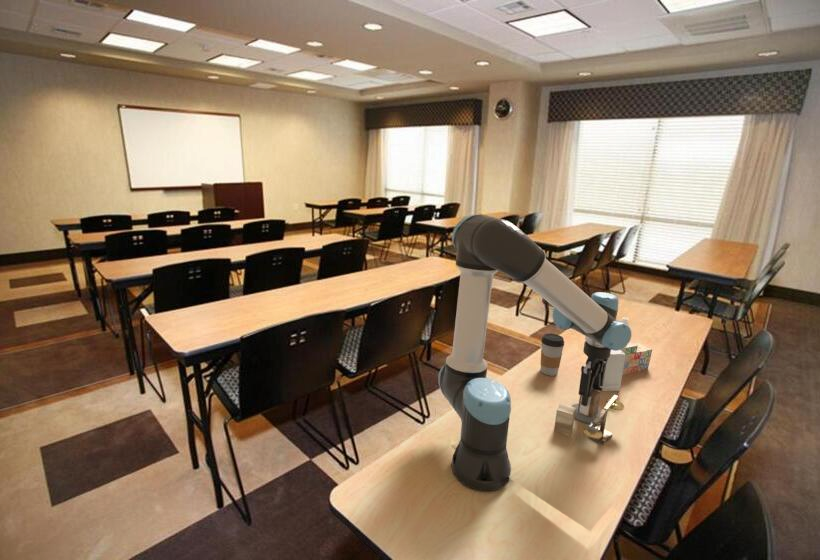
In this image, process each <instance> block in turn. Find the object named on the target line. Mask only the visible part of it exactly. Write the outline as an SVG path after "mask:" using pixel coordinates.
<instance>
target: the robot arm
mask: <svg viewBox="0 0 820 560" xmlns="http://www.w3.org/2000/svg"><path fill="white" fill-rule="evenodd" d="M451 243H452V245H453V248H454V249H455V250H456V257H455V267H456V268H457V269H458V270H459V271H460V275H459V283H458V284H459V285H458V293H457V294H458V295H457V302H456V315H455V322H454V331H453V332H454V334H453V343H452V351H451V354H449V355H448V356H447V357H446V359H445V363H444V365H442V366H441V368H440V370H439V373H438V376H437V378H438V381H437V383H438V385H439V388H440V391H441V393H442V395H443V396H444V398H445V399H446V400H447V402H448V403H449V404H450V406H452V407H451V408H453V410H454V411H455V412H456V414H457V415H458V417H459V418H460V420H461V421H460V422H461V425H460V426H461V428H460V440H459V441H458V443H457V445H456V447H455V450H454V452H453V455H452V460H451V469H452V473H453V475H454V476H455V478H456V479H457V480H458V481H459V482H460V483H462V484H463V485H465V486H467V487H469V488H471V489H474V490H478V491H487V492H488V491H496V490H499V489H501V488H503V487H504V486H506V485H507V484H508V483H509V481H510V477H511V471H512V466H511V465H512V464H511V462H510V459H509V454H508V449H507V444H508V443H507V442H508V434H509V427H510V426H509V424H510V417H511V416H510V415H511V411H512V406H511V405H512V404H511V403H512V400H511V399H512V398H511V394H510V392H509V390H508V389H507V388H506V387H505V386H504V385H503V384H502V383H500V382H499V381H497V380H496V381H494V380H493V379H491V378H489V377H488V378H487V375H488V374H487V373H488V362H487V361H486V360H485V359H484V352H485V344H486V337H487V336H486V335H487V328H488V322H489V321H488V320H489V313H490V304H491V298H492V297H491V296H492V288H493V280H494V275H495V274H497V273H498V272H500V273H503V274H504V275H505V276H508V277H510V279H511V280H513V281H514V282H516V283H519V284H520V283H523V284H525V285H526V286H527V287H529V288H530V289H531V290H532V291H534V292H535V293H537V295H539V296H540V297H541V298H542V299H543V300H545V301H546V302H547V303H549V305H551V306H552V307H553V310H552V320H553V323H554V325H555V326H556V327H557V328H558V329H561V330H564V329H565V330H569V329H572V330H575V331H576V332H577V333H580V334H581V335H583V336H584V339H585V341H584V344H583V349H582V350H583V354H584V355H586V356H587V359H586V361H585V366H584V365H582V366H581V368H580V369H581V370H580V371H581V373H580V379H579V388H578V395H579V396H580V395H581V403H580V410H579V412H580V413H582V414H584V415H587V416H588V415H589V409H590V402H591V396H590V394H591V390H592V389H594V390H596V391H598V390H599V392H603V391H602V389H603V388H600V386H601V387H602V386H603V381H604V375H605V369H606V364H607V360H608V358H609V357H610V353H611V350H615V351H617V350H621V349H623V348H625V347H626V346H627V344H628V343H629V342H631V339H632V329H631V328H630V326H628V325H626V324H624V323H623V322H622V321H621V320H618V319H617V315H618V311H619V297H618V296H617V295H615V294H612V293H609V292H600V291H598V292H597V291H596V292H594V293H592V294H591V296H589V295H588V294H586V292H584V290H583V289H581V288H580V287H579V286H578V285H577V284H575V282H573V281H572V280H571V279H570V278H568V277H567V276H566V274H564V273H563V272H562V271H561V270H559V268H557V267H556V266H555V265H554V264H553V263H552V262H550V261H549V260H548V259H547V255H546V252H545V250H543V249H542V248H541V247H540V246H539V245H538V244H537V243H536V242H534V241H533V240H532V239H531V238H530V237H529V236H528V235H527V234H526V233H525V232H523V230H522V229H520V228H519V227H518V226H516V225H515V224H514V223H512V222H510V221H509V220H506V219H505V218H504V219H503V218H498V217H494V216H491V215H490V216H489V215H487V214H482V213H480V214H470V215H467V216H465V217H463V218H461V219H460V221H458V222H457V223H456V225H455V226H454V228H453V231H452V235H451Z"/></svg>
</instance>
